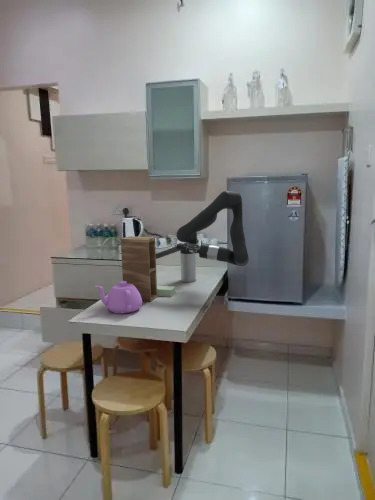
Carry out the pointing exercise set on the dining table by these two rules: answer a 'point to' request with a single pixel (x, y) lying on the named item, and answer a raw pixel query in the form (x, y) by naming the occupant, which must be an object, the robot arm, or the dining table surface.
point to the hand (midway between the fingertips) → (177, 245)
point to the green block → (166, 291)
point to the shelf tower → (140, 265)
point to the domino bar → (169, 251)
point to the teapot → (121, 298)
